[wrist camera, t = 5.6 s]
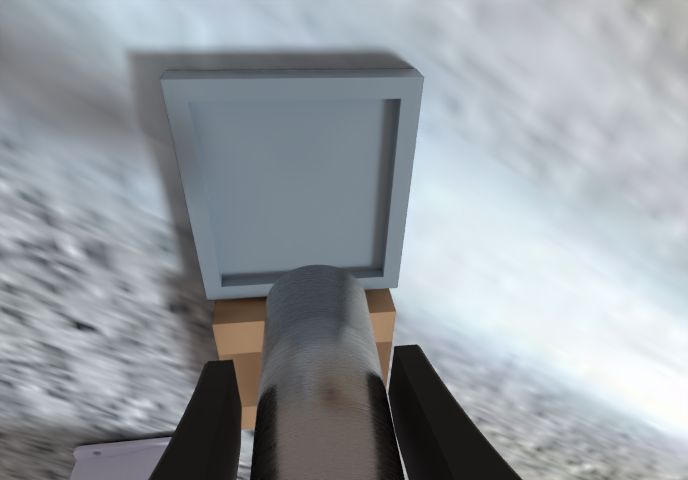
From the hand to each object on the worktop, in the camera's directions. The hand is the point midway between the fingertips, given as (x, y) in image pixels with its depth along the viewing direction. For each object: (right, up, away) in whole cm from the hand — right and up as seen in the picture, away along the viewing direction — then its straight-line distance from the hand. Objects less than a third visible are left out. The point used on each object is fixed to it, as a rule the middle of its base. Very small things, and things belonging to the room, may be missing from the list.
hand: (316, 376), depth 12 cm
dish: (-1, +6, +8) cm, 10 cm away
